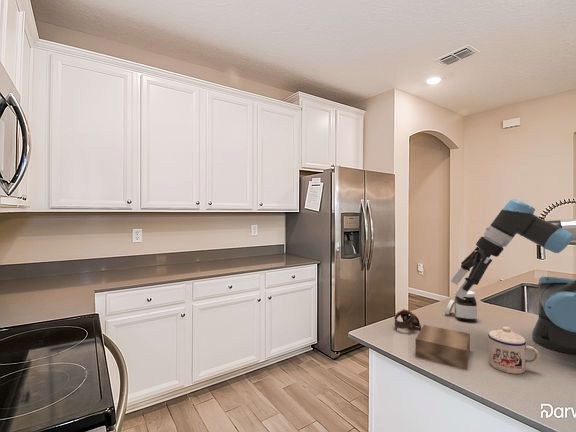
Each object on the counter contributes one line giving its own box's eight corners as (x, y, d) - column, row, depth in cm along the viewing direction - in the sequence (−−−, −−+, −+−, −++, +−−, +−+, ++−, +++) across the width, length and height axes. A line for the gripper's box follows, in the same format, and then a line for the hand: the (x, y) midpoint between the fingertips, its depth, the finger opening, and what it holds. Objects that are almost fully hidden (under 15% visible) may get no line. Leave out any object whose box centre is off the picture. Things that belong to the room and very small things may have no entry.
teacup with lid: (488, 369, 86) (489, 329, 86) (486, 356, 94) (487, 319, 94) (542, 381, 80) (542, 338, 80) (535, 366, 88) (535, 327, 87)
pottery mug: (427, 335, 111) (418, 318, 109) (403, 344, 113) (394, 327, 111) (416, 316, 123) (408, 300, 121) (394, 324, 124) (386, 309, 123)
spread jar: (479, 324, 120) (479, 295, 120) (448, 321, 124) (448, 293, 124) (470, 314, 132) (471, 288, 132) (442, 311, 135) (442, 286, 135)
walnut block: (469, 351, 98) (469, 333, 97) (466, 370, 86) (466, 350, 86) (423, 341, 106) (423, 324, 105) (415, 357, 94) (415, 338, 94)
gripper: (475, 229, 113) (443, 272, 120) (490, 244, 91) (449, 296, 98) (495, 239, 111) (461, 283, 118) (515, 257, 89) (471, 309, 96)
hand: (455, 289), depth 108 cm, fingers open, 13 cm apart
